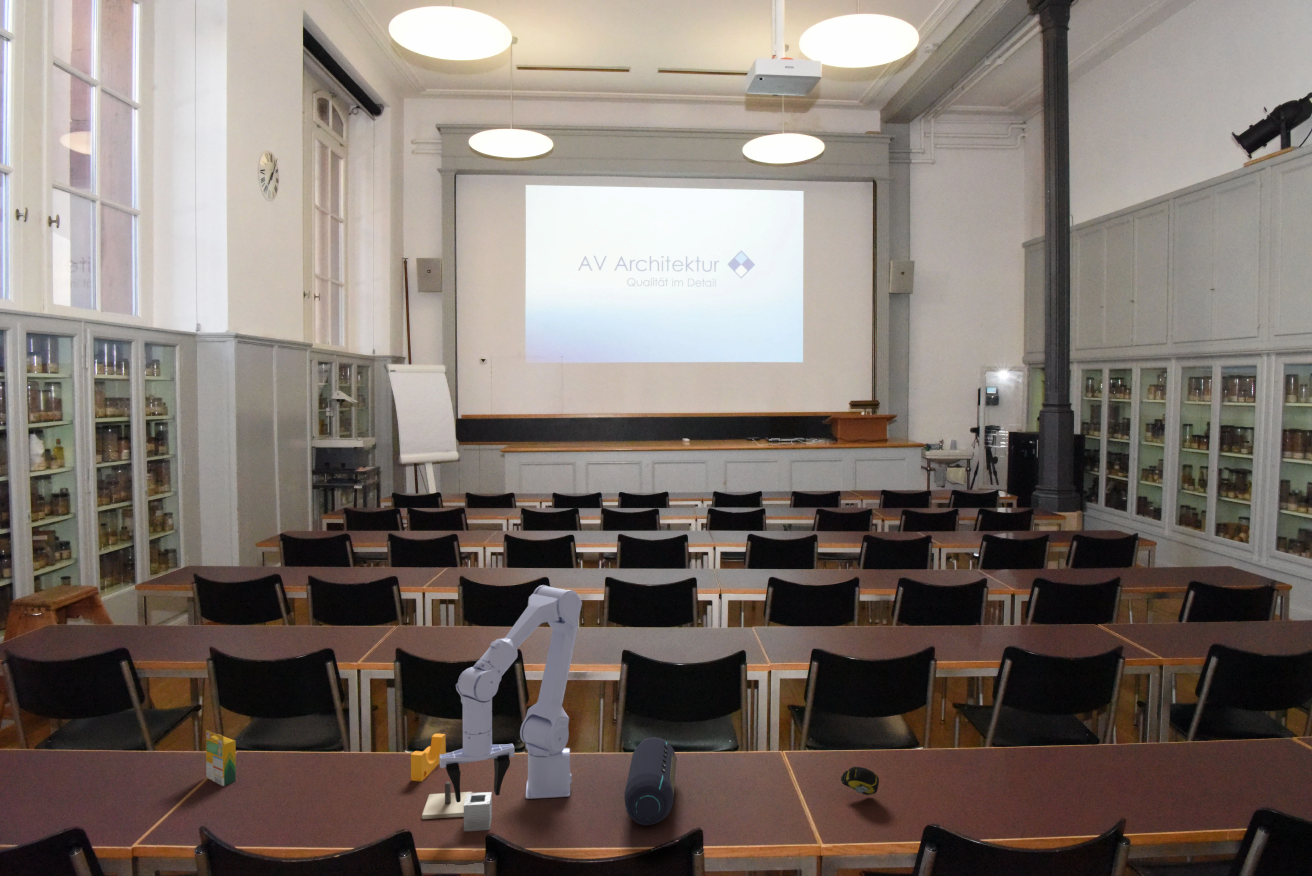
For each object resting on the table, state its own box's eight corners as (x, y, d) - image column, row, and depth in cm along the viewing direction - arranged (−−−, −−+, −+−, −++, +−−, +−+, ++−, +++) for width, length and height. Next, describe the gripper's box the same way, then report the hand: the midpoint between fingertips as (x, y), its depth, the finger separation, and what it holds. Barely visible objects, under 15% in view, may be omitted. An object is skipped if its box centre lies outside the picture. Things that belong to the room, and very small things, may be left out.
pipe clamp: (428, 759, 187) (428, 732, 186) (445, 761, 186) (445, 734, 186) (403, 782, 175) (403, 753, 175) (421, 784, 174) (421, 755, 174)
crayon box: (236, 783, 174) (236, 732, 174) (223, 789, 171) (222, 736, 171) (219, 775, 178) (218, 725, 178) (205, 781, 175) (205, 729, 175)
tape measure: (868, 801, 168) (871, 784, 170) (882, 793, 162) (885, 776, 165) (838, 787, 168) (842, 770, 170) (852, 779, 163) (855, 762, 165)
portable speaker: (672, 833, 153) (672, 783, 153) (622, 831, 153) (622, 781, 153) (677, 775, 178) (677, 732, 178) (633, 774, 178) (633, 731, 178)
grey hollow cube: (491, 817, 159) (491, 791, 159) (489, 829, 154) (489, 803, 154) (466, 818, 158) (466, 793, 158) (463, 831, 153) (463, 805, 153)
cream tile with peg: (472, 795, 168) (472, 772, 168) (467, 816, 159) (467, 792, 159) (429, 797, 167) (429, 774, 167) (422, 819, 158) (421, 794, 158)
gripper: (509, 717, 162) (509, 781, 162) (437, 727, 157) (437, 794, 157) (516, 729, 156) (516, 796, 156) (441, 740, 150) (442, 810, 150)
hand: (477, 796), depth 156 cm, fingers open, 7 cm apart
